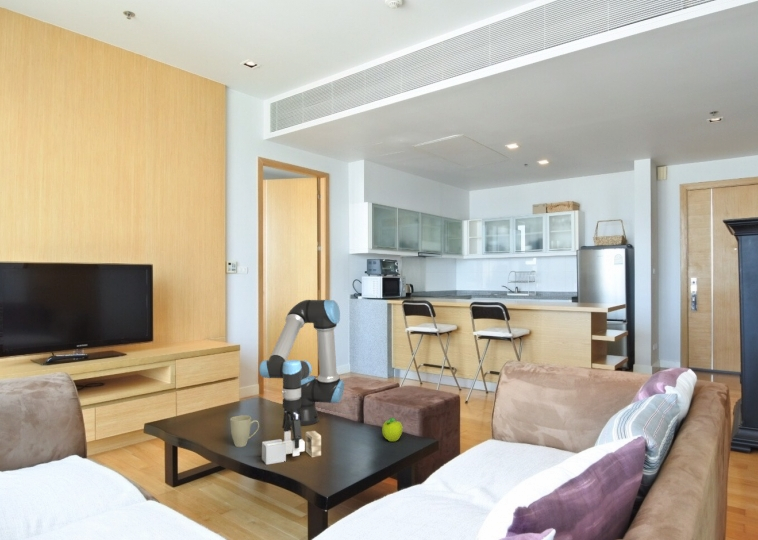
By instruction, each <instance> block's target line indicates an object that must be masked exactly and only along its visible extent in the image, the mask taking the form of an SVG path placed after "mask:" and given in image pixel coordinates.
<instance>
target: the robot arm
mask: <svg viewBox="0 0 758 540" xmlns="http://www.w3.org/2000/svg"><path fill="white" fill-rule="evenodd" d="M340 320H341V311H340V306H339V305H338V303H337V302H336V301H335V300H329V299H304V300H302V301H300V302H298V303H297V304H295V305H294V306H292V308H291V309H290V310H289V311H288V313H287V315H286V317H285V319H284V321H285V324H284V326H283V328H282V330H281V332H280V335H279V336H278V339H277V341H276V344H275V346H274V348H273V350H272V353H271V355H270V357H269V359H265V360H261V362H260V363H259V366H258V367H259V368H258V369H259V374H260V376H261V377H262V378H266V379H282V390H281V394H282V398H283V399H282V408H283V420H282V426H281V427H282V429H283V441H290V440H292V441H293V453H292V457H297V456H300V454H301V452H300V439H303V437H302V428H301V427H302V426H310V425H314V424H317V423H319V414H318V411H317V408H316V403H325V404H327V403H328V404H339V403H340V402H341V401H342V398H343V396H344V395H343V394H344V391H345V382H344V380H343V379H341V378H340V374H338V373H337V360H336V345H335V344H336V343H335V340H336V339H335V329H336V328H337V324H339V323H340ZM306 324H312V325H313V329H314V330H316V335H317V336H316V337H317V340H316V341H317V351H318V365H319V366H318V367H319V374H318V376H317V377H316V376H315V375H311V373H312V371H313V370H312V364H311V363H310V362H309V361H308V360H298V359H297V360H296V359H290V360H288V358H289V356H290V353H291V351H292V349H293V346H294V344H295V341H296V340H297V338H298V335H299V333H300V330H301V329H302V328H303V327H304V325H306ZM291 432H292V433H291ZM291 434H292V435H291Z"/></svg>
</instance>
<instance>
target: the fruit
mask: <svg viewBox="0 0 758 540" xmlns="http://www.w3.org/2000/svg"><path fill="white" fill-rule="evenodd" d="M403 428H404V427H403V425H402V423H401V422H400V421H396V418H394V417H390V418H389V419H388V420H386V421H384V423H383V424H382V427H381V431H382V432H381V433H382V436H383V437H384V438H385V439H386V440H388V441H389V442H397V441H398V440H399V439H400V437H401V435H402V434H403V431H404V430H403Z"/></svg>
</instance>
